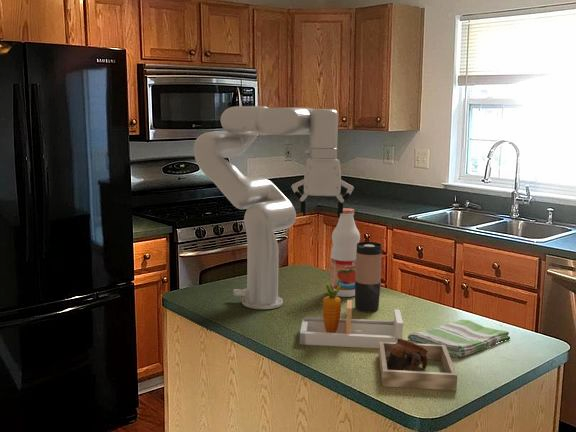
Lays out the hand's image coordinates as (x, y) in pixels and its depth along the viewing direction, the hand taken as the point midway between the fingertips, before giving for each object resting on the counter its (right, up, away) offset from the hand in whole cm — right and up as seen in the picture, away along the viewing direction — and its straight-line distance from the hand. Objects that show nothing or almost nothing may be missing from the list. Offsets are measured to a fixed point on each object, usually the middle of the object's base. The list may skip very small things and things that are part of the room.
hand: (321, 215), depth 180 cm
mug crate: (+20, -36, -30) cm, 51 cm away
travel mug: (+15, -29, +16) cm, 36 cm away
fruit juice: (+9, -26, +31) cm, 41 cm away
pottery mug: (+18, -37, -30) cm, 51 cm away
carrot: (+2, -33, -10) cm, 34 cm away
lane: (+7, -33, -10) cm, 35 cm away
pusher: (+8, -32, -10) cm, 35 cm away
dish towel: (+36, -34, -9) cm, 50 cm away
